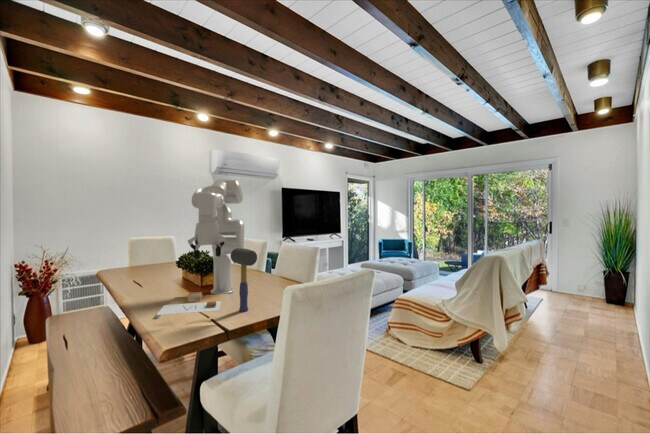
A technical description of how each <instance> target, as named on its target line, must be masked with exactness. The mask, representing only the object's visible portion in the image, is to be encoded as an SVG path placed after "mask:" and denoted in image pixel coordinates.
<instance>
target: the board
mask: <svg viewBox="0 0 650 434" xmlns="http://www.w3.org/2000/svg"><path fill="white" fill-rule="evenodd" d="M215 302H216V307H211V308H206V304H207V301H205V302H204V301H203V302H187V303H178V304H176V303H175V304H174V303H173V304H164V305H163V306H162V307H161V309H160V310H159V311H158V312H157V314H156V315H155V319H160V317H161V316H162V315H163V316H165V315H174V314H175V315H177V314H189V313H191V314H192V313H201V312H203V313H204V312H216V311H219V310H220V309H221V308H220V307H221V305H222V300H220V301H219V300H218V301H215Z"/></svg>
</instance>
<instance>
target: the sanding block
mask: <svg viewBox="0 0 650 434" xmlns="http://www.w3.org/2000/svg"><path fill="white" fill-rule="evenodd" d="M202 299H203V291H194V292H189V293H188V294H187V303H199V302H202Z"/></svg>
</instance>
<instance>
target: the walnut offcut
mask: <svg viewBox="0 0 650 434" xmlns="http://www.w3.org/2000/svg"><path fill="white" fill-rule="evenodd" d="M206 302H207V301H206ZM216 302H217V301H208V302H207V304H206V308H211V307H216Z"/></svg>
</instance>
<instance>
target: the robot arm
mask: <svg viewBox="0 0 650 434" xmlns="http://www.w3.org/2000/svg"><path fill="white" fill-rule="evenodd" d="M243 194H244V193H243V191H242V186H241V184H240V182H239V181H238V180H236V179H217V180H214V182H213V183H212V184H211V185H208V186H206V187H205V186H204V187H201V188H198V189H196V190H195V191H194V192H193V194H192V196H191V205H192V207H193V208H195V209H198V222H196V224H195V230H194V236H193V237H191V238H190V239H187V243H188V245H189V247H190V248H192V250H193V257H194V259H196V260H199V259H200V250H199V249H200V248H201V246H211V249H212V255H213V256H212V257H213V288H212V289H211V290H210V293H211V294H212V295H215V296H216V295H218V296H219V295H229V294H232V293H234V291H235V289H234V288H233V287H232V260H231V257H230V256H228V255H231V252H232V251H233V250H234V249H236V248H243V249H245V248H244V246H245V223H244V221H243V220H241V219H233V218H232V217H233V212H232V210H231V208H230V207H229V206H228V204H229V205H232V204H234V205H237V204H241V203H242V201H243V200H244V195H243ZM233 236H234V237H233ZM194 244H195V245H194Z"/></svg>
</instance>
